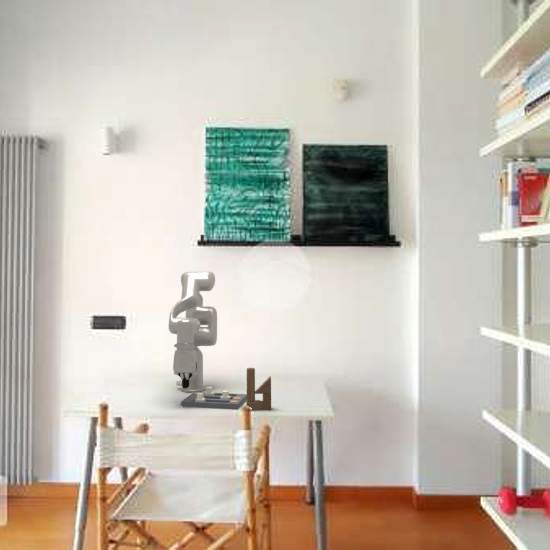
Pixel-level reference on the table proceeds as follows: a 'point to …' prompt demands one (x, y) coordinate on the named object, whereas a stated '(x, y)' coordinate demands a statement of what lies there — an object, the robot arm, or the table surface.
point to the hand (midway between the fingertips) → (185, 387)
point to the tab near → (200, 398)
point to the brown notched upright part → (258, 392)
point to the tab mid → (225, 395)
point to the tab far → (209, 391)
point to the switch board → (215, 401)
